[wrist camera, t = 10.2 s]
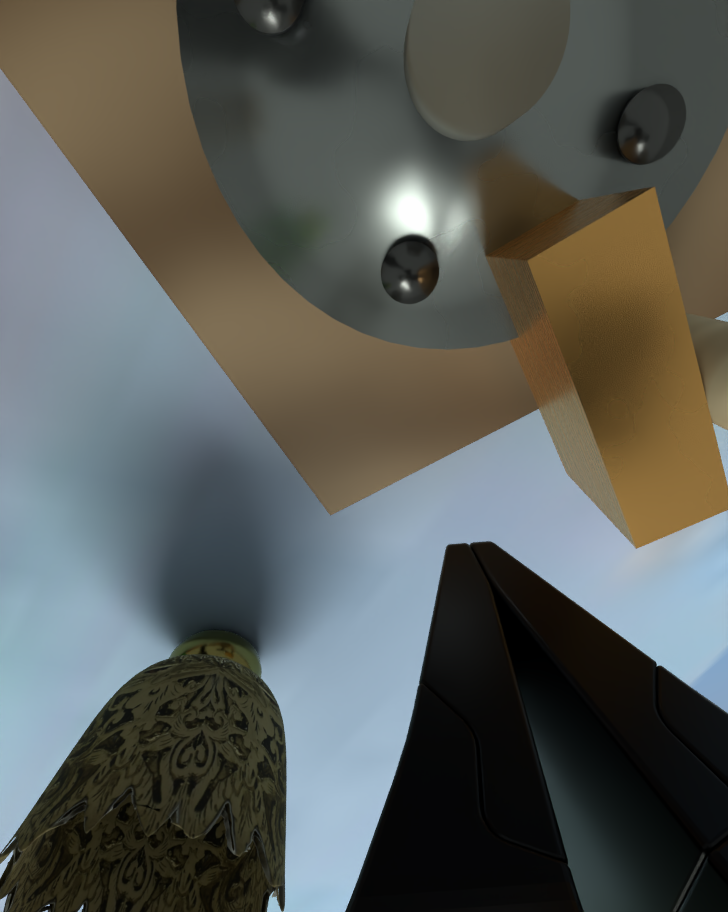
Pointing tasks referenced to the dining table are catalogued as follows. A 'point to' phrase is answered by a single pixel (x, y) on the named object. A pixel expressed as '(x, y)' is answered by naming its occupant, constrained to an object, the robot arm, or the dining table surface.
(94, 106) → the post board
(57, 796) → the cup
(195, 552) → the dining table surface
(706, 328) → the dowel pin
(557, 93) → the flange plate
